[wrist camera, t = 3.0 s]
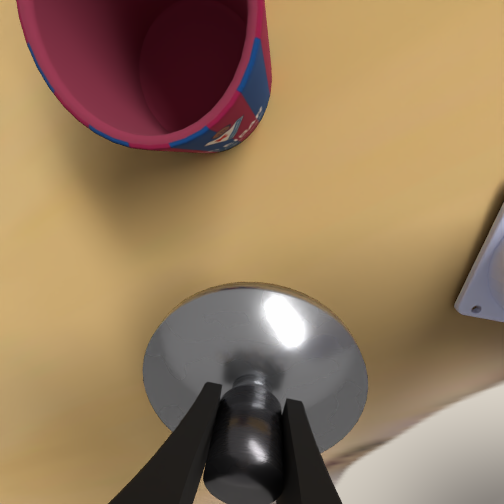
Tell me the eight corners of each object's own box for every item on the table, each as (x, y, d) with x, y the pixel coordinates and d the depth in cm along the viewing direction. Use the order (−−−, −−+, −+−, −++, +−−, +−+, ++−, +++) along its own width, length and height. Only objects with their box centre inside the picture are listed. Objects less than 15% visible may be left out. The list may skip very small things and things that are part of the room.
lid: (395, 306, 11) (467, 395, 7) (330, 466, 14) (352, 590, 10) (153, 262, 11) (82, 323, 7) (146, 431, 14) (97, 538, 10)
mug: (191, 177, 15) (125, 192, 9) (68, -8, 13) (-148, -177, 6) (297, 103, 13) (312, 53, 7) (176, -127, 11) (29, -529, 5)
